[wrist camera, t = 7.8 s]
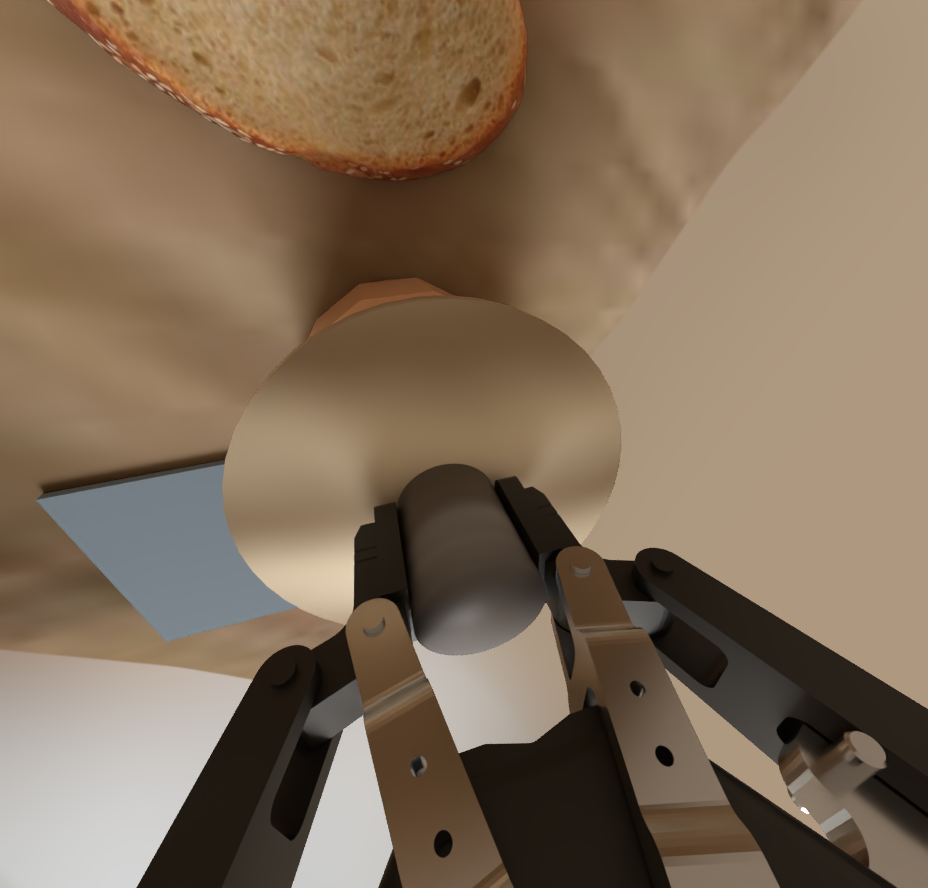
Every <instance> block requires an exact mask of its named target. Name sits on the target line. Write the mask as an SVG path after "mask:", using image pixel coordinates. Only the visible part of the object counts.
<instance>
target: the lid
mask: <svg viewBox="0 0 928 888" xmlns="http://www.w3.org/2000/svg"><path fill="white" fill-rule="evenodd" d="M620 453H621V427H620V421H619V416H618V410H617V406H616V403H615V400H614V398H613V395H612V392H611V389H610V387H609V385H608V383H607V382H606V380H605V378H604V376H603V375H602V373H601V371H600V369H599V368H598V367H597V365H596V364H595V363H594V362H593V361H592V359H591V358H590V357H589V356H588V354H587V353H586V352H585V351H584V350H583V349H582V348H581V347H580V346H579V345H577V344H576V343H575V342H574V341H573V340H572V339H571V338H569V337H568V336H567V335H566V334H564V333H563V332H561V331H560V330H558V329H556V328H555V327H553V326H551V325H550V324H548V323H546V322H545V321H543V320H541V319H539V318H537V317H535V316H533V315H530V314H528V313H526V312H523V311H521V310H518V309H516V308H513V307H511V306H509V305H506V304H502V303H498V302H493V301H489V300H485V299H481V298H474V297H463V296H452V295H440V296H421V297H412V298H407V299H402V300H397V301H392V302H387V303H382V304H379V305H376V306H374V307H371V308H368V309H365V310H362V311H359V312H356V313H353V314H351V315H349V316H347V317H345V318H343V319H341V320H339V321H337V322H335V323H333V324H331V325H330V326H328V327H326V328H324V329H322V330H320V331H319V332H318V333H316V334H315V335H313V336H312V337H311V338H309V339H308V340H306V341H305V342H304V343H302V344H301V345H299V346H298V347H297V348H295V349H294V350H293V351H292V352H291V353H290V354H289V355H288V356H287V357H286V358H285V359H284V360H283V361H282V362H281V363H280V364H279V365H278V366H277V367H276V368H275V369H274V370H272V372H271V373H270V374H269V376H268V377H267V378H266V380H265V381H264V382H263V384H262V385H261V386H260V388H259V389H258V390H257V392H256V393H255V394H254V396H253V398H252V399H251V401H250V402H249V404H248V406H247V407H246V409H245V411H244V413H243V415H242V417H241V419H240V421H239V423H238V425H237V427H236V429H235V431H234V433H233V436H232V439H231V442H230V446H229V449H228V452H227V455H226V458H225V465H224V474H223V482H222V490H223V505H224V512H225V516H226V520H227V524H228V527H229V531H230V534H231V536H232V538H233V540H234V542H235V545H236V547H237V549H238V551H239V553H240V554H241V556H242V557H243V559H244V560H245V562H246V563H247V564H248V566H249V567H250V569H251V570H252V571H253V572H254V573H255V574H256V576H257V577H258V578H259V579H260V580H261V581H262V582H263V583H264V584H265V585H266V586H267V587H269V588H270V589H271V590H272V591H274V592H275V593H276V594H278V595H279V596H280V597H282V598H283V599H284V600H286V601H288V602H290V603H291V604H293V605H295V606H297V607H298V608H300V609H302V610H304V611H306V612H309V613H311V614H313V615H316V616H318V617H321V618H323V619H327V620H330V621H334V622H337V623H340V624H345V625H346V624H347V621H348V619H349V617H350V615H351V614H352V612H353V607H354V554H355V553H354V538H355V536H356V534H357V532H358V530H359V528H360V526H361V525H365V524H369V523H374V522H375V519H374V507H375V506H380V505H384V504H389V503H393V502H395V503H396V506H397V511H398V517H399V524H400V531H401V537H402V544H403V551H404V558H405V565H406V571H407V578H408V585H409V592H410V598H411V605H412V606H411V615H412V622H413V629H414V634H415V636H416V638H417V640H418V641H419V642H420V644H422V645H423V646H424V647H425V648H427V649H429V650H431V651H433V652H436V653H439V654H444V655H468V654H474V653H478V652H482V651H486V650H489V649H492V648H494V647H497V646H499V645H501V644H503V643H505V642H507V641H509V640H511V639H512V638H514V637H516V636H517V635H518V634H520V633H521V632H522V631H524V630H525V629H526V628H527V627H528V626H529V625H530V624H531V623H532V622H533V621H534V620H535V619H536V617H537V616H538V615H539V613H540V611H541V609H542V608H543V606H544V603H545V600H546V586H545V583H544V581H543V579H542V577H541V575H540V573H539V571H538V569H537V567H536V566H535V564H534V562H533V560H532V558H531V556H530V554H529V553H528V551H527V549H526V547H525V545H524V543H523V541H522V539H521V538H520V536H519V534H518V532H517V530H516V528H515V526H514V525H513V523H512V521H511V519H510V517H509V515H508V513H507V511H506V510H505V508H504V506H503V504H502V502H501V500H500V498H499V497H498V495H497V493H496V491H495V480H498V479H503V478H507V477H512V476H516V477H517V478H518V479H519V481H520V482H521V484H522V485H523V487H524V488H528V487H532V486H533V487H534V488H536V489H537V490H539V491H540V492H542V493H544V494H545V496H546V497H547V498H548V500H549V501H550V503H551V504H552V506H553V507H554V508H555V510H556V511H557V513H558V515H560V517H561V518H562V519H563V521H564V522H565V524H566V525H567V526H568V528H569V529H570V531H571V532H572V533H573V535H574V536H575V538H576V539H577V540H578V542H579V543H580V544H581V543H582V542H583V541H584V539H585V538H586V537H587V536H588V535H589V533H590V532H591V530H592V529H593V527H594V525H595V524H596V522H597V521H598V519H599V518H600V516H601V514H602V512H603V510H604V508H605V506H606V504H607V502H608V500H609V497H610V494H611V492H612V489H613V487H614V484H615V480H616V476H617V472H618V468H619V462H620Z"/></svg>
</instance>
